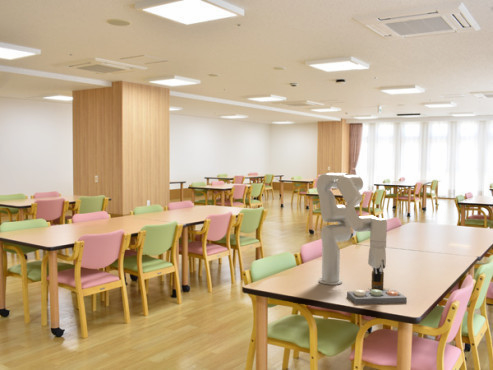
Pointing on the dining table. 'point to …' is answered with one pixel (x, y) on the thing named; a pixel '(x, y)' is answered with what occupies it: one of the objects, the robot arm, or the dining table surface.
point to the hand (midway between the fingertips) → (376, 281)
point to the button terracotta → (392, 293)
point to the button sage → (376, 292)
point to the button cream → (359, 293)
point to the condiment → (378, 283)
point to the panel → (376, 298)
